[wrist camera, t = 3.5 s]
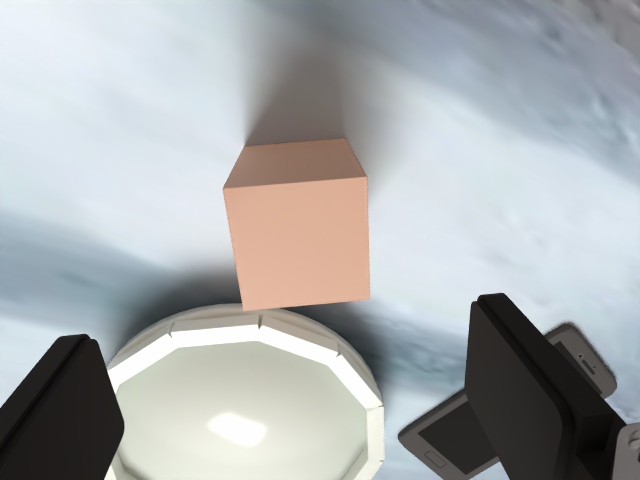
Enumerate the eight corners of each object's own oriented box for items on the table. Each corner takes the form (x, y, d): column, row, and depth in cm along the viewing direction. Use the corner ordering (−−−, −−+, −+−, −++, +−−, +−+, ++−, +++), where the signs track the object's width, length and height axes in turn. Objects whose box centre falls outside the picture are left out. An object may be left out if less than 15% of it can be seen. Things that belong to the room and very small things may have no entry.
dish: (377, 284, 25) (386, 309, 22) (380, 491, 32) (387, 527, 30) (62, 312, 24) (37, 340, 22) (139, 515, 32) (127, 553, 29)
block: (345, 137, 21) (367, 176, 15) (349, 230, 23) (370, 299, 17) (244, 146, 21) (222, 188, 15) (257, 238, 23) (243, 310, 17)
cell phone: (391, 431, 30) (394, 440, 29) (565, 316, 27) (572, 323, 26) (450, 480, 33) (453, 489, 32) (615, 380, 29) (623, 388, 29)
